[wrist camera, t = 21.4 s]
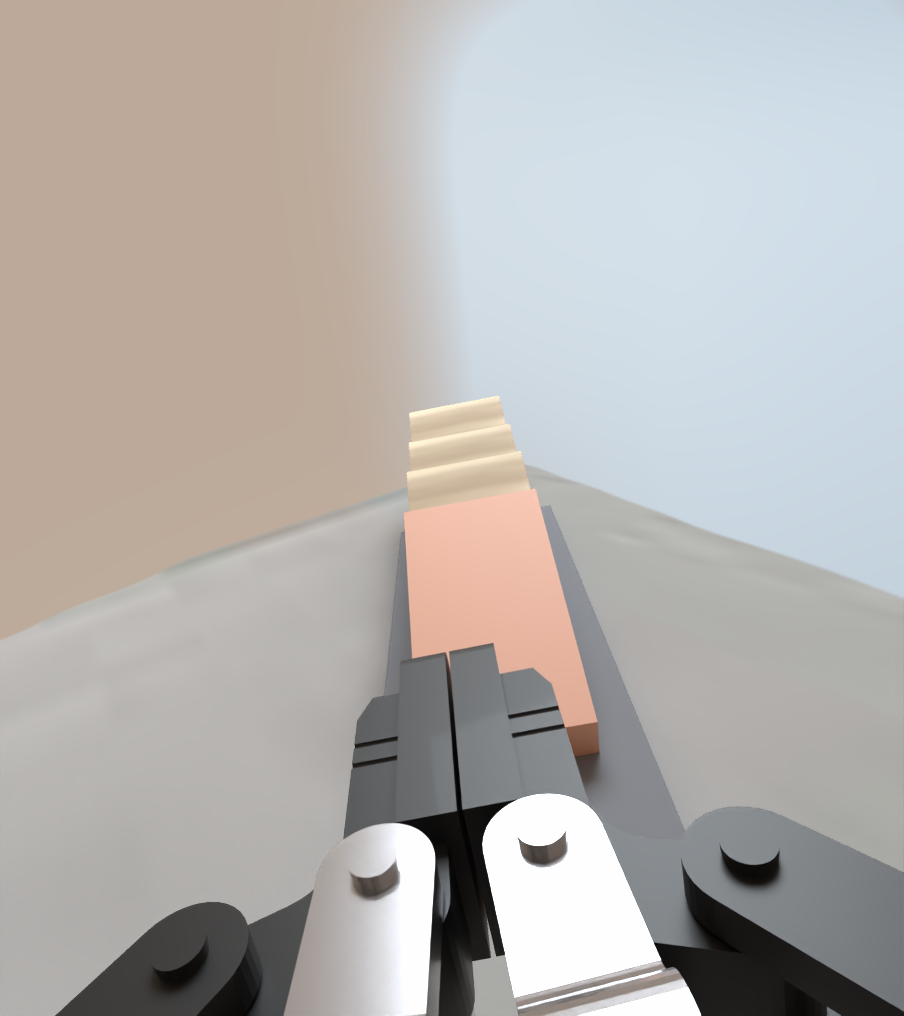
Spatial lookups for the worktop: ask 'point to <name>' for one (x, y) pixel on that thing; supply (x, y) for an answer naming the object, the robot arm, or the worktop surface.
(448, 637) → the terracotta domino
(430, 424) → the maple domino
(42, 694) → the worktop surface
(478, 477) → the maple domino
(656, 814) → the mat
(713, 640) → the worktop surface
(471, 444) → the maple domino
